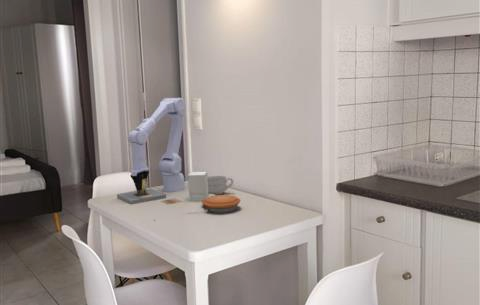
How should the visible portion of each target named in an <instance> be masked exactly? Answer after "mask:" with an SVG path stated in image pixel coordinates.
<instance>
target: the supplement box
mask: <svg viewBox="0 0 480 305" xmlns="http://www.w3.org/2000/svg"><path fill="white" fill-rule="evenodd" d="M207 177H208V171H190V173H189V174H188V175H187V183H188V184H187V185H188V199H189V202H202V201H203V200H204V199H206V198H207V197H210V196H209V193H208V178H207Z"/></svg>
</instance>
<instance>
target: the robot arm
mask: <svg viewBox="0 0 480 305" xmlns="http://www.w3.org/2000/svg"><path fill="white" fill-rule="evenodd" d="M186 106H187V104H186V102H185V100H184V99H183V98H182V97H170V98H169V97H164V98H163V99H162V101H160V103H159V105H158V107H157V108H156V109H155V111H154V112H153V113H152V115H151V116H150V117H148V118H143V119H142V122H141V123H140V124H139V125H138V126H136V127H135V130H132V131H130V132H129V133H128V137H127V141H128V142H129V145H130V148H131V160H132V169H131V171H130V172H131V173H130V178H131V179H132V181H133V183H134V187H135V189H136V190H135V191H137V190H142V181H143V178H145V179H146V181H147V179H148V176H149V174H150V171H149V170H150V167H148V164H147V158H146V143H147V142H148V137H149V135H150V134H151V133H152V132H153V131H154V130H155V129H156V128H157V127H156V126H157V125H156V124H157V123H158V122H159V121H160V120H161V119H162V118H163V117H164V116H165V115H166V114H167V115H168V116H169V117H170V118H171V119H172V120H171V125H170V131H169V135H168V142H167V147H166V152H165V153H164V154H162V155H161V159H160V161H159V162H158V170H159V171H160V173H161V175H162V186H163V187H162V188H163V191H160V192H161V193H163V192H166V193H167V192H168V193H170V192H171V193H172V192H176V191H177V192H178V191H182V190H185V189H186V188H185V177H184V174H183V172H181V171H182V158H181V157H180V155H179V151H180V150H179V149H180V146H181V140H182V135H183V130H184V123H185V121H186V119H185V118H186V114H185V112H186Z"/></svg>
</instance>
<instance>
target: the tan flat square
mask: <svg viewBox="0 0 480 305" xmlns="http://www.w3.org/2000/svg"><path fill="white" fill-rule="evenodd" d="M160 202H161V203H164V204H166V205H171V204H177V203H178V204H179V203H183V202H184V201H182V200H180V199H177V198H171V199H165V200H161V201H160Z"/></svg>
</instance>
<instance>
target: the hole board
mask: <svg viewBox="0 0 480 305" xmlns="http://www.w3.org/2000/svg"><path fill="white" fill-rule="evenodd" d="M116 197H117V198H116V199H117V200H122V201H124V202H125V203H127V204H130V205H136V204H141V203H146V202H147V203H148V202H152V201H153V202H154V201H157V200H163V199H167V194H165V193H163V192H161V191H157V190H155V189H153V188H146V193H137V190H135V191H128V192H121V193H116Z"/></svg>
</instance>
